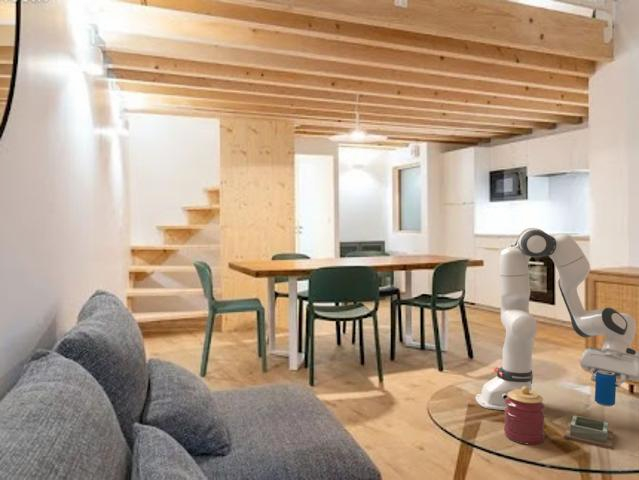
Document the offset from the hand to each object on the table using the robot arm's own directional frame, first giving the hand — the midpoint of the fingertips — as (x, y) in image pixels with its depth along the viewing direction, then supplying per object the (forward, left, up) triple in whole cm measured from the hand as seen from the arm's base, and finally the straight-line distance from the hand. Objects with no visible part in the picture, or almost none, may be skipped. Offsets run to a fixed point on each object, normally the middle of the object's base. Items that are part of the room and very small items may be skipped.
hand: (605, 383), depth 181 cm
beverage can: (0, +1, -8) cm, 8 cm away
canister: (-33, -13, -16) cm, 39 cm away
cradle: (-10, -11, -15) cm, 21 cm away
